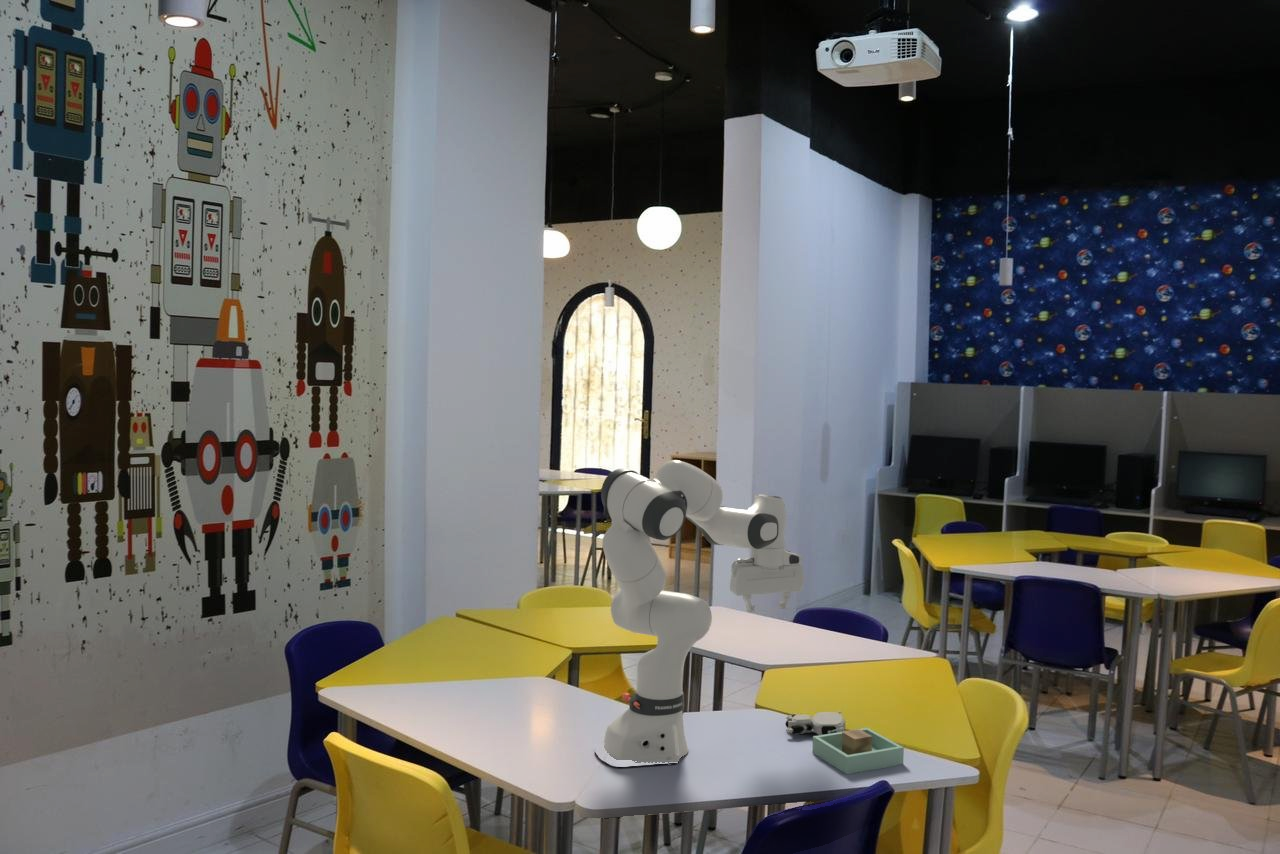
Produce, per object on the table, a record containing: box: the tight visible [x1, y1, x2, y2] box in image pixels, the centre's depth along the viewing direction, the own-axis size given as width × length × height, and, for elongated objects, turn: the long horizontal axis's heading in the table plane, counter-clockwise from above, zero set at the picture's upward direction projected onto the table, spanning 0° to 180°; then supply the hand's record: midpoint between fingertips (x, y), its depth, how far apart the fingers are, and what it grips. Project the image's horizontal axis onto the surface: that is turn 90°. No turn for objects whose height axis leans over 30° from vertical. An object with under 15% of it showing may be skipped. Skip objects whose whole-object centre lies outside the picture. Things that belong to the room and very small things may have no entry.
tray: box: [812, 727, 905, 775], centre depth 241 cm, size 16×14×4 cm
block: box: [842, 728, 872, 755], centre depth 242 cm, size 5×5×5 cm
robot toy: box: [785, 711, 846, 736], centre depth 258 cm, size 12×4×15 cm
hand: (766, 610), depth 261 cm, fingers open, 8 cm apart
